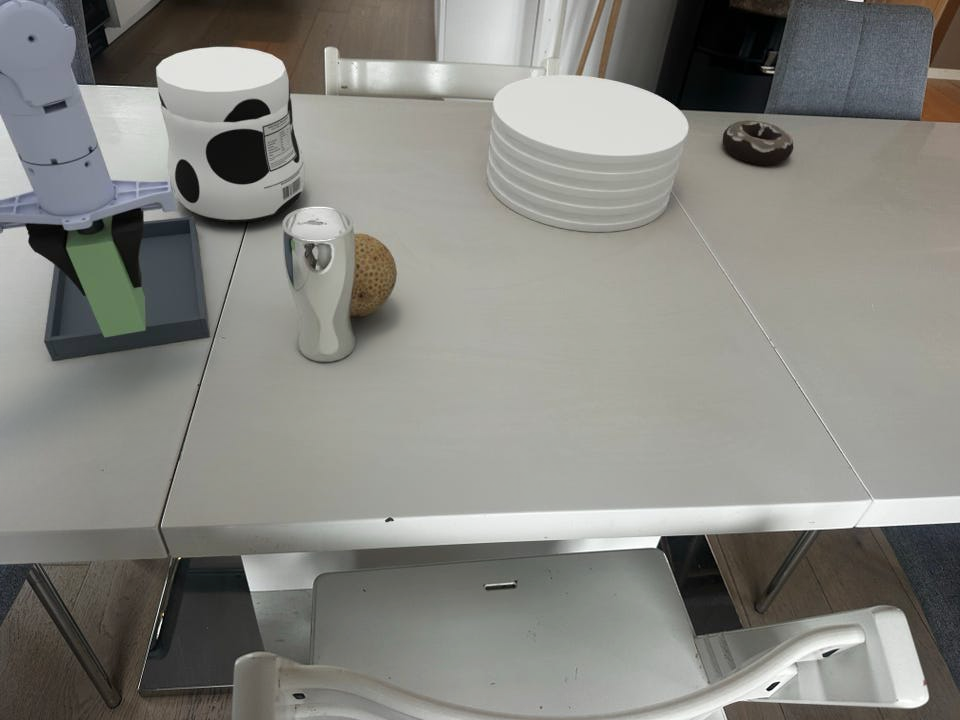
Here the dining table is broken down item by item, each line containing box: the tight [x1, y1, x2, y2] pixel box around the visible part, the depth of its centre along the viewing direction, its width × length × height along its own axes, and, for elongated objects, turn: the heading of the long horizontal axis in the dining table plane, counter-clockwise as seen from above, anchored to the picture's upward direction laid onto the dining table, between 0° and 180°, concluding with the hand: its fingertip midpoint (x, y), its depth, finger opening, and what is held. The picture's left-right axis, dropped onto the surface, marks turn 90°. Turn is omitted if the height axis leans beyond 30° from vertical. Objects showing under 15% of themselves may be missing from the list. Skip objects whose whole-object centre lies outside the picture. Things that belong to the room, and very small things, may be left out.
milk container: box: [155, 46, 306, 223], centre depth 92 cm, size 17×17×18 cm
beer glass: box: [281, 205, 357, 363], centre depth 72 cm, size 7×7×15 cm
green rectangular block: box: [66, 216, 146, 337], centre depth 64 cm, size 4×5×12 cm
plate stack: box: [486, 74, 690, 233], centre depth 105 cm, size 28×28×12 cm
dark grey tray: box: [43, 216, 211, 361], centre depth 81 cm, size 15×21×3 cm
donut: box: [722, 119, 794, 166], centre depth 121 cm, size 12×12×4 cm
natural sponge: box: [351, 233, 398, 318], centre depth 78 cm, size 9×9×10 cm
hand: (112, 285), depth 65 cm, fingers closed on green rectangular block, 3 cm apart
